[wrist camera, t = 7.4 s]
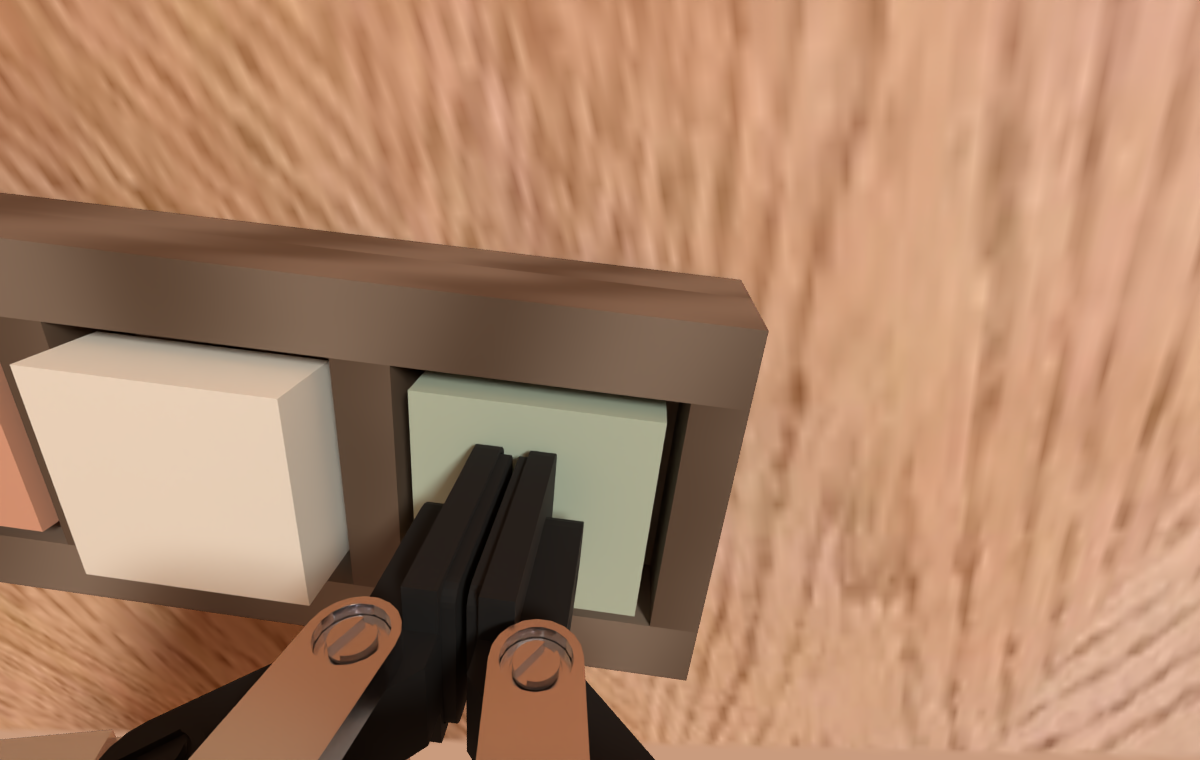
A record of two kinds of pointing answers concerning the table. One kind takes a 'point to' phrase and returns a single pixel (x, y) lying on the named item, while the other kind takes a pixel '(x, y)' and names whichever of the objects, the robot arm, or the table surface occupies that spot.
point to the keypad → (398, 376)
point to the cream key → (192, 463)
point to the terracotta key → (20, 472)
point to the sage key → (583, 470)
